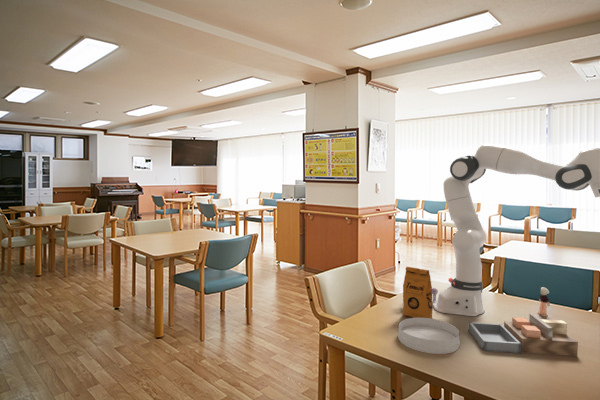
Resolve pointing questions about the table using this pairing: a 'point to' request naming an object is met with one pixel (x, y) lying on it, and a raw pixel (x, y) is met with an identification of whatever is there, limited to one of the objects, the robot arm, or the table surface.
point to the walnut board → (544, 342)
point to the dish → (429, 335)
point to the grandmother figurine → (543, 302)
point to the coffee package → (417, 293)
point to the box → (494, 337)
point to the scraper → (548, 326)
